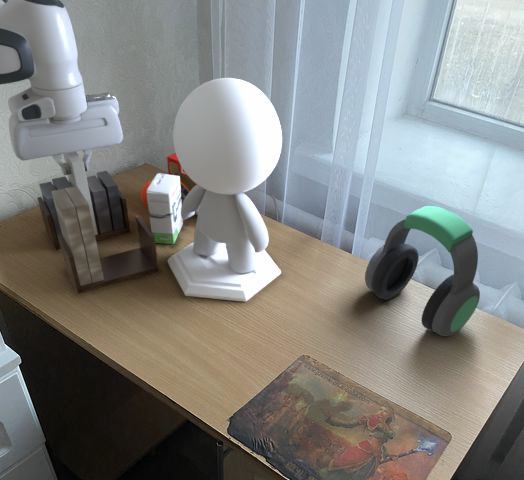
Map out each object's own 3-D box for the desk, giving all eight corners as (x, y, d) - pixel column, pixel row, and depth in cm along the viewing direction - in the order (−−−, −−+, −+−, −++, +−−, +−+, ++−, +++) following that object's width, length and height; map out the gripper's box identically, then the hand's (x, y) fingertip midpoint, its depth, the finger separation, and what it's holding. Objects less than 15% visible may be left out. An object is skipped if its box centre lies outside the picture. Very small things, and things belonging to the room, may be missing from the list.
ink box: (174, 245, 113) (169, 193, 105) (151, 242, 113) (145, 191, 105) (183, 224, 119) (180, 174, 111) (162, 222, 119) (157, 172, 111)
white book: (87, 237, 112) (71, 163, 101) (78, 221, 116) (62, 149, 105) (97, 234, 113) (83, 161, 102) (88, 219, 117) (73, 147, 106)
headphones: (355, 296, 103) (375, 201, 89) (392, 276, 108) (416, 183, 94) (436, 350, 93) (472, 253, 79) (472, 325, 98) (512, 229, 84)
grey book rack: (55, 250, 110) (42, 199, 102) (46, 231, 115) (32, 181, 107) (130, 232, 116) (123, 182, 108) (118, 215, 121) (110, 166, 113)
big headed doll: (296, 261, 110) (315, 80, 86) (226, 317, 97) (225, 120, 72) (221, 228, 118) (219, 54, 94) (147, 275, 105) (122, 86, 80)
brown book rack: (77, 293, 100) (57, 211, 88) (66, 270, 105) (45, 190, 93) (158, 271, 106) (149, 191, 94) (144, 250, 111) (133, 173, 99)
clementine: (141, 201, 126) (137, 172, 121) (170, 198, 127) (168, 170, 122) (144, 218, 120) (140, 189, 115) (175, 215, 122) (172, 186, 117)
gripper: (111, 86, 102) (121, 156, 112) (-2, 101, 94) (19, 175, 104) (122, 96, 98) (131, 168, 108) (5, 113, 91) (26, 189, 100)
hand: (75, 172), depth 106 cm, fingers closed on white book, 2 cm apart
